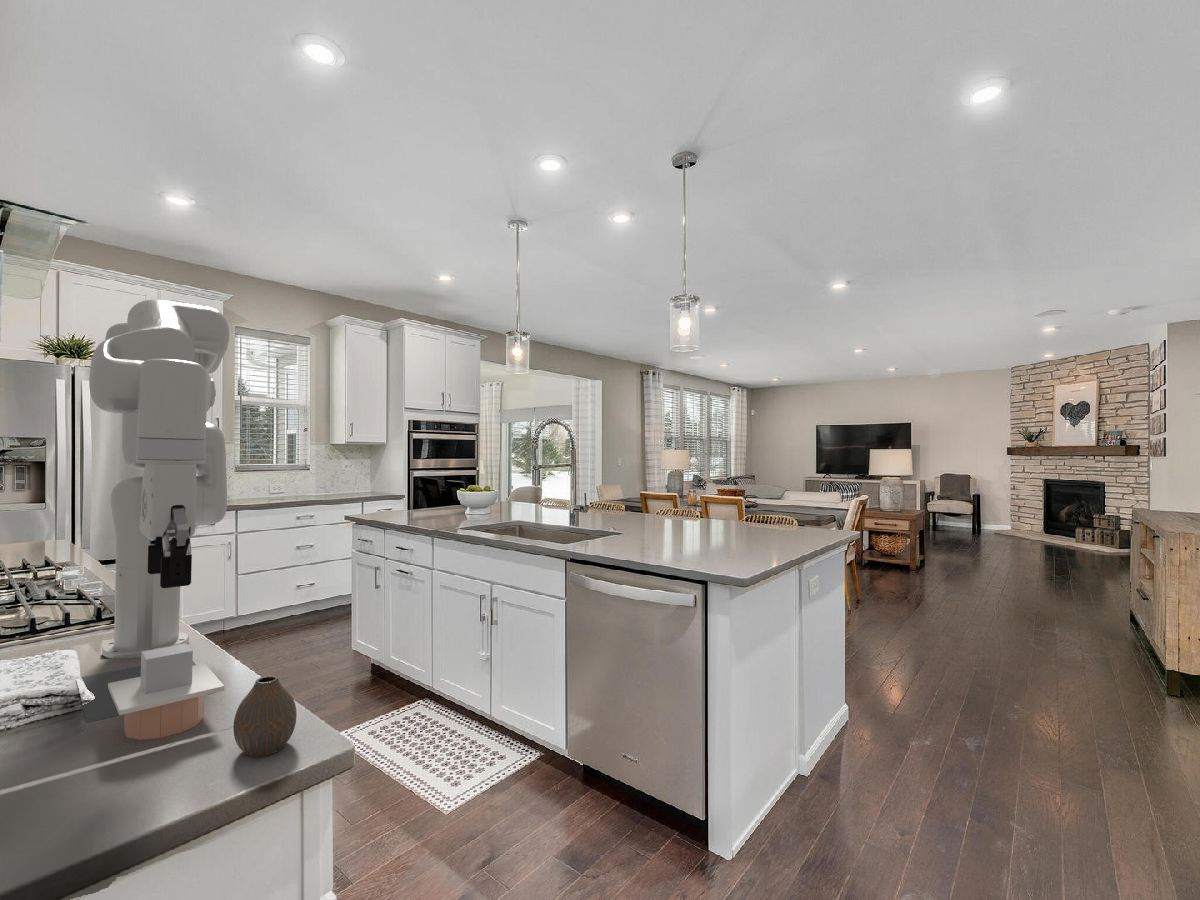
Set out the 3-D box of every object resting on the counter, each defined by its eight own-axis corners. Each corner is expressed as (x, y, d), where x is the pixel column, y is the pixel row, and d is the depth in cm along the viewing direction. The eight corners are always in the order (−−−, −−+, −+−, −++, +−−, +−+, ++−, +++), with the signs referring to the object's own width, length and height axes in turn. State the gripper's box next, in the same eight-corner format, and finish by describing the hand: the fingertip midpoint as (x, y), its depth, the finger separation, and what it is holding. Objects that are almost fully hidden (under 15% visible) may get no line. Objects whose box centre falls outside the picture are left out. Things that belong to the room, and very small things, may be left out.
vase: (267, 766, 70) (269, 693, 70) (218, 759, 71) (220, 687, 71) (307, 738, 76) (309, 671, 76) (262, 732, 78) (264, 666, 78)
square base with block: (107, 687, 79) (108, 649, 79) (204, 667, 87) (205, 632, 87) (119, 715, 71) (120, 673, 71) (224, 690, 79) (225, 652, 79)
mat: (75, 680, 92) (75, 678, 92) (189, 658, 103) (189, 656, 103) (86, 725, 78) (86, 722, 78) (217, 694, 89) (217, 691, 89)
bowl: (120, 725, 79) (121, 688, 79) (195, 706, 85) (196, 672, 85) (129, 749, 73) (130, 708, 73) (209, 727, 79) (210, 690, 79)
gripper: (127, 450, 82) (124, 571, 82) (147, 454, 70) (143, 597, 70) (191, 450, 87) (188, 565, 88) (220, 455, 75) (216, 587, 75)
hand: (168, 579), depth 79 cm, fingers open, 9 cm apart
